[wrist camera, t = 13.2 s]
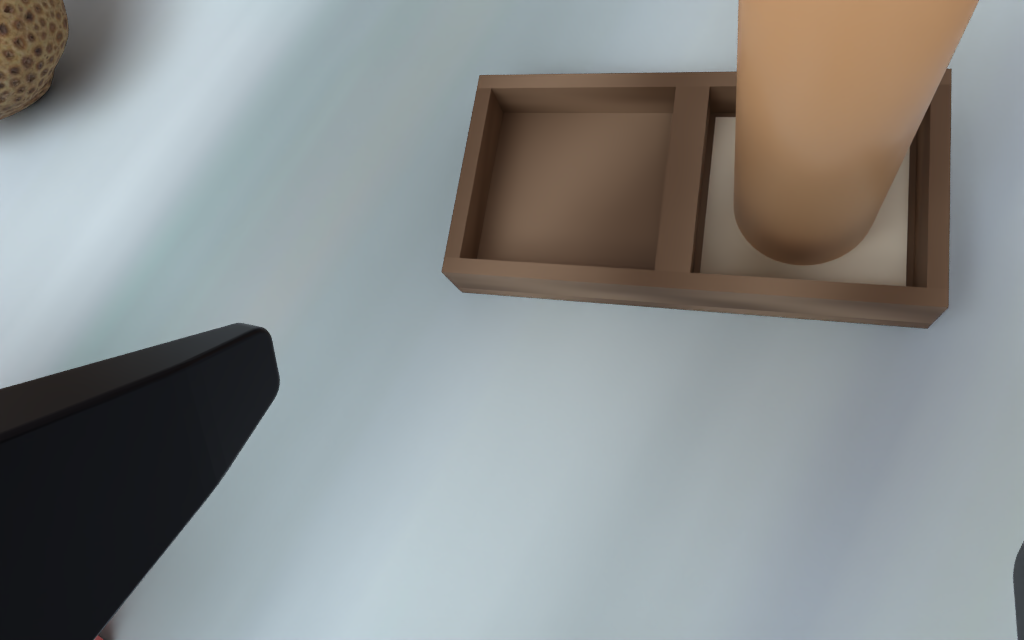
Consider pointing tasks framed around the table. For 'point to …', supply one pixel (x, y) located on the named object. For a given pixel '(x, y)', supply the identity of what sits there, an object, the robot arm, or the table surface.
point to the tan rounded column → (830, 114)
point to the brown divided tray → (672, 206)
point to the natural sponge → (29, 50)
